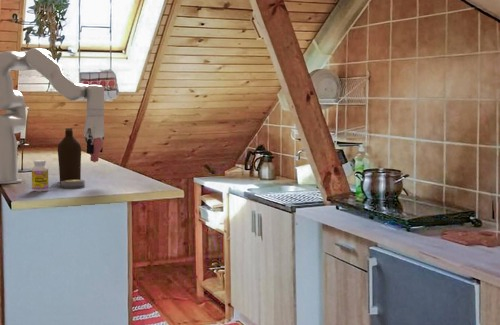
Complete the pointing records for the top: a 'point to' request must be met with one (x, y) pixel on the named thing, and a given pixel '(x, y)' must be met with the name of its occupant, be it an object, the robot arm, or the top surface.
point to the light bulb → (96, 149)
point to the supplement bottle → (39, 176)
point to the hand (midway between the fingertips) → (94, 152)
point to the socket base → (73, 183)
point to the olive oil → (69, 157)
